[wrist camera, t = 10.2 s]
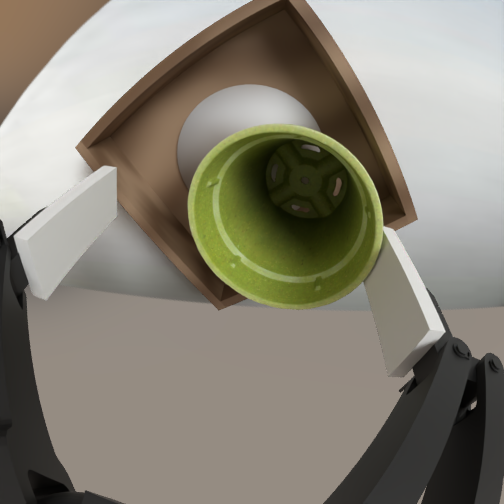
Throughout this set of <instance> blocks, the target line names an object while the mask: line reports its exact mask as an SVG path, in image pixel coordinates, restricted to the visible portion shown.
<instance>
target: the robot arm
mask: <svg viewBox="0 0 504 504" xmlns="http://www.w3.org/2000/svg"><path fill="white" fill-rule="evenodd" d="M117 216H118V214H117V167H111V166H103V167H101V168H100V169H98V170H97V171H95V172H94V173H92V174H91V175H89V176H88V177H86V178H85V179H84V180H82V181H81V182H79V183H78V184H77V185H75V186H74V187H72V188H71V189H70V190H68V191H67V192H66V193H64V194H63V195H62V196H61V197H59V198H58V199H57V200H55V201H54V202H53V203H52V204H50V205H49V206H47V207H45V208H43V209H41V210H39V211H38V212H37V213H36V214H34V215H33V216H32V218H30V219H29V220H27V221H26V223H24V224H23V225H22V226H20V227H19V228H18V229H17V230H16V231H15V232H14V233H13V234H12V235H10V236H9V237H8V238H6V234H5V230H4V226H3V222H2V221H1V220H0V504H124V503H121V502H118V501H116V500H113V499H110V498H107V497H104V496H101V495H98V494H95V493H92V492H89V491H85V493H83V492H76V491H75V489H74V487H73V484H72V482H71V480H70V478H69V476H68V474H67V472H66V470H65V468H64V467H63V465H62V464H61V463H60V461H59V460H58V458H57V456H56V455H55V452H54V449H53V446H52V443H51V440H50V437H49V434H48V430H47V427H46V423H45V420H44V416H43V412H42V408H41V404H40V400H39V395H38V391H37V386H36V381H35V375H34V369H33V363H32V356H31V349H30V341H29V331H28V320H27V302H26V294H25V291H24V289H25V288H26V286H27V285H28V284H29V286H30V289H31V291H32V294H33V295H34V296H36V297H39V298H41V299H43V300H47V299H48V298H49V296H50V295H51V294H52V292H53V291H54V290H55V288H56V287H57V286H58V285H59V283H60V282H61V281H62V279H63V278H64V277H65V276H66V274H67V273H68V272H69V271H70V269H71V268H72V267H73V266H74V264H75V263H76V262H77V261H78V260H79V258H80V257H81V256H82V255H83V254H84V252H85V251H86V250H87V249H88V248H89V247H90V246H91V244H92V243H93V242H94V241H95V240H96V239H97V238H98V236H99V235H100V234H101V233H102V232H103V231H104V230H105V229H106V228H107V227H108V225H109V224H110V223H111V222H112V221H113V220H114V219H115V218H116V217H117ZM363 282H364V285H365V289H366V292H367V295H368V299H369V302H370V306H371V309H372V313H373V316H374V320H375V324H376V328H377V332H378V335H379V339H380V343H381V348H382V352H383V356H384V360H385V365H386V369H387V373H388V377H404V376H405V375H406V374H407V373H408V372H409V371H410V370H411V369H412V368H413V372H414V375H415V376H414V377H413V378H412V379H411V380H410V381H409V382H407V383H406V384H405V385H404V386H403V387H402V388H401V389H400V390H399V392H402V391H403V390H404V392H403V394H402V395H401V397H400V399H399V401H398V402H397V404H396V406H395V407H394V409H393V411H392V412H391V414H390V416H389V417H388V419H387V421H386V422H385V424H384V425H383V427H382V428H381V430H380V431H379V433H378V434H377V436H376V438H375V439H374V441H373V442H372V443H371V445H370V446H369V447H368V449H367V450H366V452H365V453H364V454H363V456H362V458H361V459H360V460H359V461H358V463H357V464H356V465H355V466H354V468H353V469H352V470H351V472H350V473H349V474H348V475H347V477H346V478H345V479H344V480H343V482H342V483H341V484H340V485H339V486H338V487H337V489H336V490H335V491H334V492H333V493H332V494H331V495H330V497H329V498H328V499H327V500H326V501H325V502H324V503H323V504H417V502H418V500H419V499H420V497H421V495H422V493H423V491H424V490H425V488H426V490H425V493H424V497H423V500H422V503H421V504H499V502H500V497H501V491H502V485H503V483H504V369H503V365H502V363H501V361H500V359H499V358H498V357H497V356H495V355H494V354H492V353H487V354H486V355H485V356H484V357H483V358H482V359H481V360H478V359H476V358H474V357H472V355H471V352H470V350H469V348H468V346H467V345H466V344H465V343H464V342H463V341H462V340H460V339H458V338H455V337H452V334H451V332H450V330H449V327H448V325H447V323H446V321H445V318H444V316H443V314H442V312H441V310H440V308H439V307H438V306H439V305H438V303H437V301H436V299H435V297H434V296H433V295H432V293H431V292H430V291H429V290H428V289H427V288H425V286H424V284H423V282H422V280H421V278H420V276H419V274H418V272H417V270H416V268H415V267H414V265H413V263H412V261H411V259H410V257H409V256H408V254H407V252H406V250H405V248H404V247H403V245H402V243H401V241H400V240H399V238H398V236H397V235H396V233H395V231H394V229H391V228H388V227H385V226H383V238H382V244H381V248H380V251H379V254H378V257H377V260H376V262H375V264H374V266H373V268H372V270H371V271H370V273H369V274H368V275H367V277H366V278H365V279H364V281H363ZM476 400H477V404H476V407H475V408H474V409H472V410H471V404H472V403H474V402H475V401H476ZM426 486H427V487H426Z"/></svg>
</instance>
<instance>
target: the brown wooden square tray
mask: <svg viewBox="0 0 504 504" xmlns="http://www.w3.org/2000/svg"><path fill="white" fill-rule="evenodd" d="M264 124H293V125H299V126H303V127H307V128H310V129H313V130H316V131H318V132H321V133H323V134H325V135H327V136H329V137H331V138H332V139H334V140H336V141H337V142H339V143H340V144H342V145H343V146H344V147H345V148H346V149H348V150H349V151H350V152H351V153H352V154H353V155H354V156H355V157H356V158H357V159H358V161H359V162H360V163H361V164H362V165H363V167H364V168H365V170H366V171H367V173H368V174H369V176H370V178H371V180H372V181H373V183H374V186H375V188H376V190H377V193H378V196H379V199H380V203H381V208H382V214H383V226H385V227H388V228H391V229H394V231H396V230H398V229H400V228H402V227H404V226H406V225H408V224H410V223H412V222H414V221H416V220H418V218H417V215H416V212H415V208H414V205H413V202H412V199H411V196H410V194H409V191H408V188H407V185H406V182H405V180H404V177H403V174H402V172H401V169H400V166H399V164H398V161H397V159H396V157H395V154H394V152H393V149H392V147H391V145H390V142H389V140H388V138H387V136H386V133H385V131H384V129H383V127H382V125H381V123H380V120H379V118H378V116H377V114H376V112H375V110H374V108H373V106H372V104H371V102H370V100H369V98H368V97H367V95H366V93H365V91H364V89H363V87H362V85H361V84H360V82H359V80H358V78H357V76H356V75H355V73H354V71H353V70H352V68H351V66H350V65H349V63H348V61H347V60H346V58H345V56H344V55H343V53H342V52H341V50H340V48H339V47H338V45H337V44H336V42H335V41H334V39H333V38H332V36H331V35H330V33H329V32H328V30H327V29H326V27H325V26H324V25H323V23H322V22H321V20H320V19H319V18H318V16H317V15H316V14H315V12H314V11H313V10H312V8H311V7H310V6H309V4H308V3H307V2H306V1H305V0H253V1H251V2H249V3H247V4H245V5H243V6H242V7H240V8H238V9H236V10H235V11H233V12H231V13H230V14H228V15H226V16H225V17H223V18H222V19H220V20H218V21H217V22H215V23H214V24H212V25H211V26H209V27H208V28H206V29H205V30H203V31H202V32H200V33H199V34H197V35H196V36H194V37H193V38H192V39H190V40H189V41H187V42H186V43H185V44H183V45H182V46H181V47H179V48H178V49H177V50H175V51H174V52H173V53H171V54H170V55H169V56H168V57H166V58H165V59H164V60H163V61H161V62H160V63H159V64H158V65H157V66H155V67H154V68H153V69H152V70H151V71H150V72H148V73H147V74H146V75H145V76H144V77H143V78H142V79H140V80H139V81H138V82H137V83H136V84H135V85H134V86H133V87H132V88H131V89H130V90H128V91H127V92H126V93H125V94H124V95H123V96H122V97H121V98H120V99H119V100H118V101H117V102H116V103H115V104H114V105H113V106H112V107H111V108H110V109H109V110H108V111H107V112H106V113H105V114H104V115H103V117H102V118H101V119H100V120H99V121H98V122H97V123H96V124H95V125H94V126H93V127H92V129H91V130H90V131H89V132H88V133H87V134H86V135H85V137H84V138H83V139H82V140H81V141H80V142H79V144H78V145H77V146H76V147H75V148H76V149H77V151H78V152H79V153H80V155H81V156H82V157H83V159H84V160H85V161H86V162H87V164H88V165H89V166H90V167H91V169H92V170H93V171H94V172H95V171H97V170H98V169H100V168H101V167H103V166H111V167H117V200H118V202H119V203H120V204H121V205H122V206H123V208H124V209H125V210H126V211H127V212H128V213H129V215H130V216H131V217H132V218H133V219H134V220H135V221H136V223H137V224H138V225H139V226H140V227H141V228H142V229H143V231H144V232H145V233H146V234H147V235H148V236H149V237H150V238H151V240H152V241H153V242H154V243H155V244H156V245H157V246H158V247H159V248H160V249H161V251H162V252H163V253H164V254H165V255H166V256H167V257H168V258H169V259H170V260H171V261H172V262H173V264H174V265H175V266H176V267H177V268H178V269H179V270H180V271H181V272H182V273H183V274H184V275H185V276H186V277H187V278H188V279H189V281H190V282H191V283H192V284H193V285H194V286H195V287H196V288H197V289H198V290H199V291H200V292H201V293H202V294H203V295H204V296H205V297H206V298H207V299H208V300H209V301H210V302H211V303H212V304H213V305H214V306H215V307H216V308H217V309H218V310H221V309H223V308H226V307H228V306H231V305H233V304H236V303H238V302H240V301H243V300H245V299H247V297H245V296H243V295H241V294H240V293H238V292H237V291H235V290H234V289H233V288H231V287H230V286H229V285H227V284H226V283H225V282H223V281H222V280H221V279H220V278H219V277H218V276H217V275H216V274H215V273H214V272H213V271H212V270H211V268H210V267H209V266H208V265H207V263H206V262H205V260H204V259H203V257H202V256H201V254H200V252H199V250H198V248H197V245H196V243H195V241H194V238H193V236H192V232H191V230H190V225H189V219H188V194H189V190H190V185H191V182H192V179H193V176H194V174H195V172H196V170H197V167H198V166H199V164H200V162H201V161H202V160H203V158H204V157H205V156H206V155H207V154H208V153H209V151H211V150H212V149H213V148H214V147H215V146H216V145H217V144H218V143H220V142H221V141H222V140H224V139H225V138H227V137H228V136H230V135H232V134H234V133H236V132H239V131H241V130H243V129H246V128H250V127H253V126H258V125H264ZM301 148H302V149H309V150H313V151H317V152H320V149H319V148H318V147H316V146H312V145H303V146H301ZM277 168H278V165H277V164H274V166H273V168H272V173H271V174H272V179H273V181H274V182H275V178H276V172H277ZM302 182H303V183H305V184H307V183H308V182H309V179H308V178H306V177H303V178H302ZM336 182H337V183H336V188H335V191H334V193H333V195H334V196H336V195H338V193H339V192H340V187H341V184H342V182H341V179H340V178H337V180H336ZM292 208H293V209H294V210H297V211H303V212H308V211H310V210H309V208H303V207H299V206H296V205H292Z"/></svg>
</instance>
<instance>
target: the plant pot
mask: <svg viewBox="0 0 504 504" xmlns="http://www.w3.org/2000/svg"><path fill="white" fill-rule="evenodd" d="M303 145H312V146H316V147H318V148H319V149H320V152H317V151H313V150H309V149H302V148H301V146H303ZM274 164H277V165H278V168H277V172H276V178H275V182H274V181H273V179H272V174H271V173H272V168H273V166H274ZM303 177H306V178H308V179H309V182H308V183H307V184H305V183H303V182H302V178H303ZM337 178H340V179H341V182H342V184H341V187H340V192H339V193H338V195H336V196H334V195H333V193H334V191H335V188H336V183H337V182H336V180H337ZM292 205H296V206H299V207H303V208H309V210H310V211H308V212H303V211H297V210H294V209H293V208H292ZM188 219H189V225H190V230H191V232H192V236H193V238H194V241H195V243H196V245H197V248H198V250H199V252H200V254H201V256H202V257H203V259H204V260H205V262H206V263H207V265H208V266H209V267H210V268H211V270H212V271H213V272H214V273H215V274H216V275H217V276H218V277H219V278H220V279H221V280H222V281H223V282H225V283H226V284H227V285H229V286H230V287H231V288H233V289H234V290H235V291H237V292H238V293H240V294H241V295H243V296H245V297H247V298H249V299H251V300H253V301H256V302H258V303H261V304H266V305H268V306H271V307H276V308H281V309H296V310H301V309H311V308H315V307H320V306H323V305H327V304H330V303H333V302H335V301H337V300H339V299H341V298H343V297H344V296H346V295H348V294H349V293H351V292H352V291H353V290H354V289H355V288H357V287H358V286H359V285H360V284H361V283H362V282H363V281H364V279H365V278H366V277H367V275H368V274H369V273H370V271H371V270H372V268H373V266H374V264H375V262H376V260H377V257H378V254H379V251H380V248H381V244H382V238H383V214H382V208H381V203H380V199H379V196H378V193H377V190H376V188H375V186H374V183H373V181H372V180H371V178H370V176H369V174H368V173H367V171H366V170H365V168H364V167H363V165H362V164H361V163H360V162H359V161H358V159H357V158H356V157H355V156H354V155H353V154H352V153H351V152H350V151H349V150H348V149H346V148H345V147H344V146H343V145H342V144H340V143H339V142H337V141H336V140H334V139H332V138H331V137H329V136H327V135H325V134H323V133H321V132H318V131H316V130H313V129H310V128H307V127H303V126H299V125H293V124H264V125H258V126H253V127H250V128H246V129H243V130H241V131H239V132H236V133H234V134H232V135H230V136H228V137H227V138H225V139H224V140H222V141H221V142H220V143H218V144H217V145H216V146H215V147H214V148H213V149H212V150H211V151H209V153H208V154H207V155H206V156H205V157H204V158H203V160H202V161H201V162H200V164H199V166H198V167H197V170H196V172H195V174H194V176H193V179H192V182H191V185H190V190H189V194H188Z"/></svg>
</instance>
